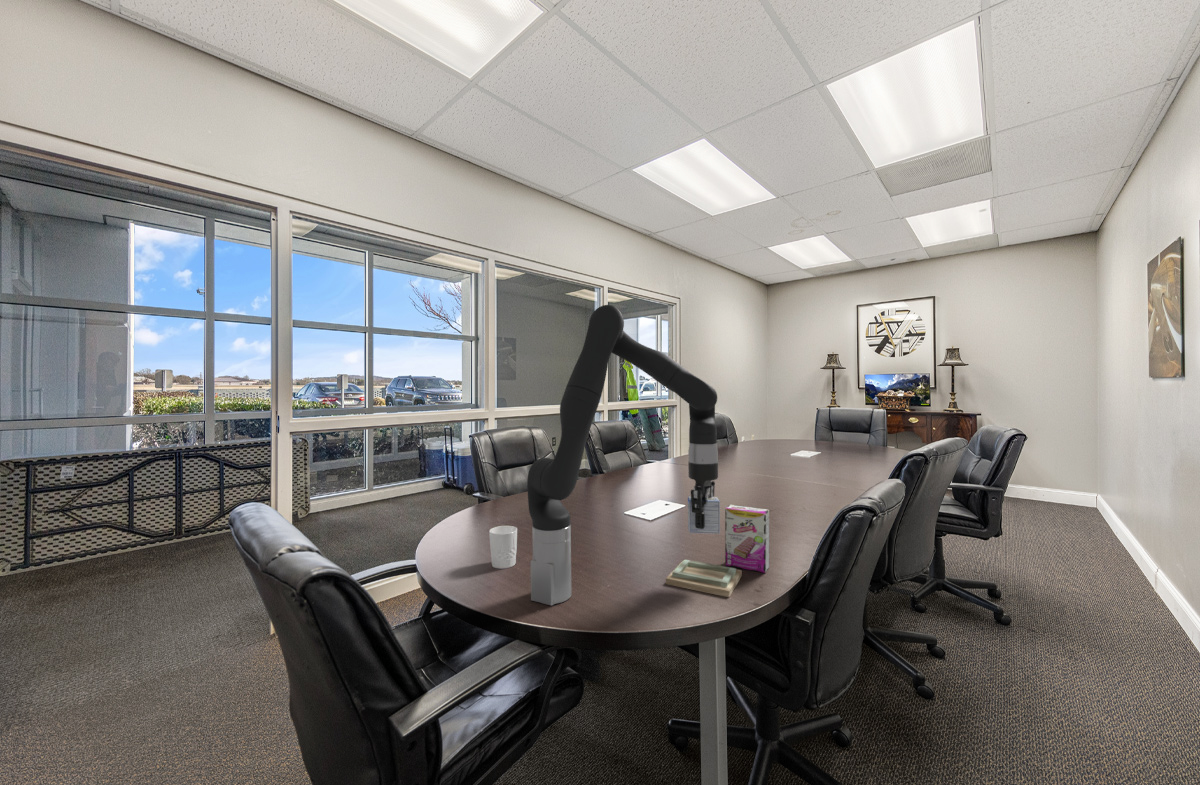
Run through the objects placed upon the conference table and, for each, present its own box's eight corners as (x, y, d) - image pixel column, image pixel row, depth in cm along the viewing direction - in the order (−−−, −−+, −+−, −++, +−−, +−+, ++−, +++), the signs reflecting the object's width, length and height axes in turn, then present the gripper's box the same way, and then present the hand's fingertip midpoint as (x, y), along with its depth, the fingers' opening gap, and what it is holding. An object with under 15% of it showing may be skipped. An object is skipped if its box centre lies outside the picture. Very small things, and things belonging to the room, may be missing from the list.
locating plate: (729, 597, 109) (729, 586, 109) (665, 584, 117) (665, 574, 117) (741, 576, 122) (741, 566, 122) (683, 565, 129) (683, 556, 129)
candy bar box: (724, 566, 128) (724, 508, 128) (729, 560, 133) (728, 503, 133) (766, 574, 123) (765, 513, 123) (769, 567, 127) (769, 508, 127)
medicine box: (718, 529, 121) (717, 496, 121) (720, 534, 117) (720, 500, 117) (687, 528, 122) (687, 496, 122) (689, 533, 118) (688, 500, 117)
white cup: (484, 564, 132) (484, 529, 132) (507, 557, 137) (507, 523, 137) (499, 572, 126) (498, 536, 126) (523, 564, 132) (522, 529, 132)
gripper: (709, 465, 111) (710, 534, 111) (724, 457, 124) (724, 519, 124) (680, 463, 115) (680, 530, 115) (697, 455, 127) (697, 516, 127)
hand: (703, 524), depth 119 cm, fingers closed on medicine box, 5 cm apart
